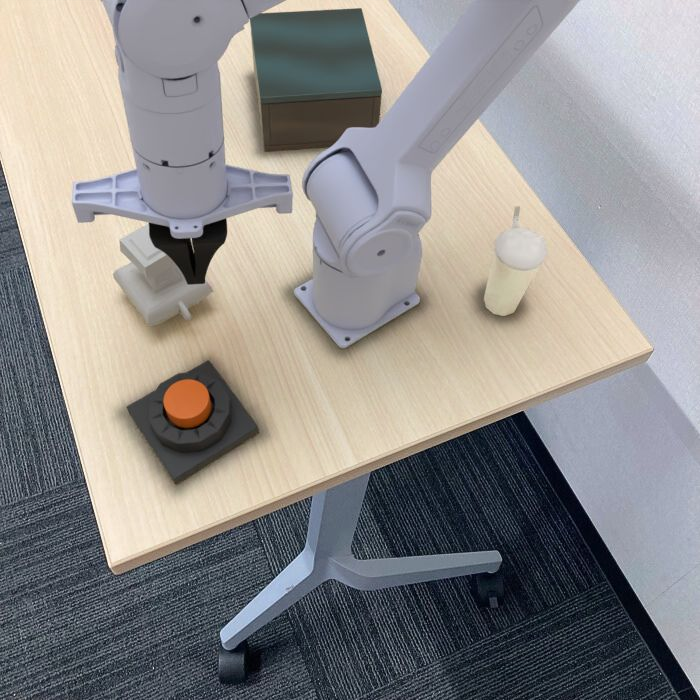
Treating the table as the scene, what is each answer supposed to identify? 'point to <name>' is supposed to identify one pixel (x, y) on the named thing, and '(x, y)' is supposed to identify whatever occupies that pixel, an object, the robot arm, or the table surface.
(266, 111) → the box
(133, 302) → the stamp
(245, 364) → the table surface
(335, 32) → the lid
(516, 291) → the milkshake
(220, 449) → the switch block
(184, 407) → the button
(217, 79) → the robot arm
